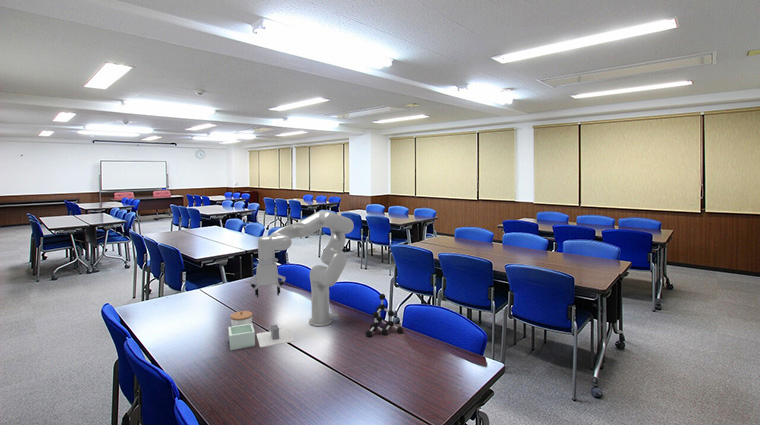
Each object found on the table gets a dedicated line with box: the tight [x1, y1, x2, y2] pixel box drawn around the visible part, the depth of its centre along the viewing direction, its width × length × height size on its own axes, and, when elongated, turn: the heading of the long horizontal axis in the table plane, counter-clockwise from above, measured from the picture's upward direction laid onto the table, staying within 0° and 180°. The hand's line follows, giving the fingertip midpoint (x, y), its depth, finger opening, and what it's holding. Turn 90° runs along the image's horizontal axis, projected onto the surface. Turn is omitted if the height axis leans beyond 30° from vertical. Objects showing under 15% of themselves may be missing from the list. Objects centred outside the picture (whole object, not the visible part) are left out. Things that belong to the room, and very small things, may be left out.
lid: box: [255, 324, 295, 348], centre depth 185 cm, size 16×16×6 cm
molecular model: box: [365, 293, 404, 338], centre depth 192 cm, size 18×20×20 cm
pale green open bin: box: [228, 322, 256, 351], centre depth 178 cm, size 11×11×7 cm
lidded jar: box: [230, 310, 253, 326], centre depth 195 cm, size 11×11×9 cm
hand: (268, 295), depth 183 cm, fingers open, 9 cm apart
